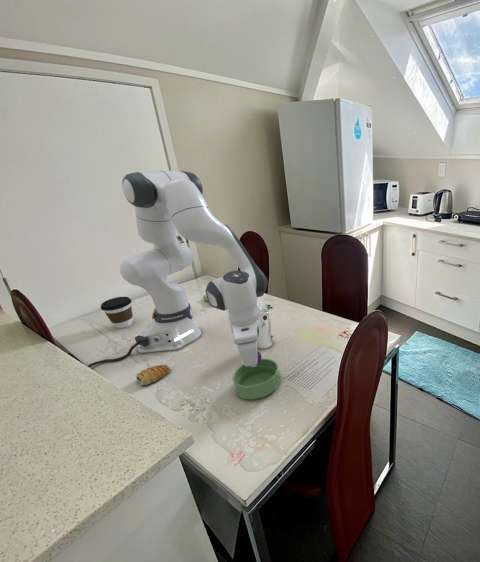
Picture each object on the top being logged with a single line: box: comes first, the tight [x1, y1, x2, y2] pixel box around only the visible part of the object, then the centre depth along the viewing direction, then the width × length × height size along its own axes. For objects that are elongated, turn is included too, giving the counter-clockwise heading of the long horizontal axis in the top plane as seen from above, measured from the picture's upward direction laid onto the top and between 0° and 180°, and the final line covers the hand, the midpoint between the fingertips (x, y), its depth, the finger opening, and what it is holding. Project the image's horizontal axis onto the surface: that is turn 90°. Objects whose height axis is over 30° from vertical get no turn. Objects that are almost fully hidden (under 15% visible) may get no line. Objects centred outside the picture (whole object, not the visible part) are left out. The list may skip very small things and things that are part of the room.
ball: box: [257, 350, 263, 364], centre depth 100 cm, size 5×5×5 cm
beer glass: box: [257, 307, 274, 349], centre depth 124 cm, size 7×7×15 cm
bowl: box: [232, 358, 281, 400], centre depth 104 cm, size 14×14×6 cm
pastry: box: [135, 364, 170, 386], centre depth 108 cm, size 9×7×4 cm
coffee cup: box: [100, 296, 134, 329], centre depth 139 cm, size 11×11×12 cm
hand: (253, 359), depth 101 cm, fingers closed on ball, 5 cm apart
